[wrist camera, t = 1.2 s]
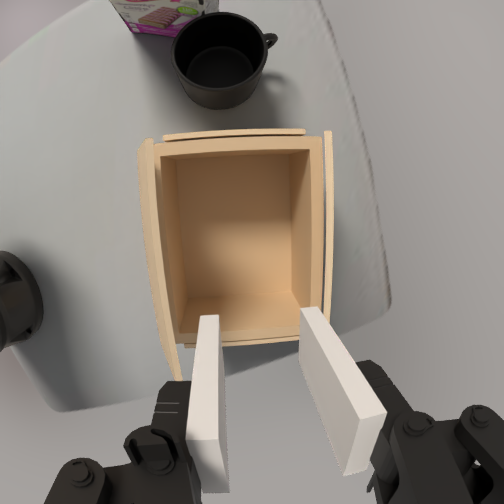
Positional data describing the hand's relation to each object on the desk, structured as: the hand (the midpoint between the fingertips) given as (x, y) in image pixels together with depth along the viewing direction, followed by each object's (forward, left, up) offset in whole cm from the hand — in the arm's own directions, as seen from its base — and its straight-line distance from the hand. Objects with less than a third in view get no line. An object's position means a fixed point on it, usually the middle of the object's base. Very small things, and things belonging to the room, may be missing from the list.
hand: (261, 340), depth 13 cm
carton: (0, 0, -27) cm, 27 cm away
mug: (0, +20, -27) cm, 33 cm away
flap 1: (-7, 0, -12) cm, 14 cm away
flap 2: (+7, 0, -12) cm, 14 cm away
